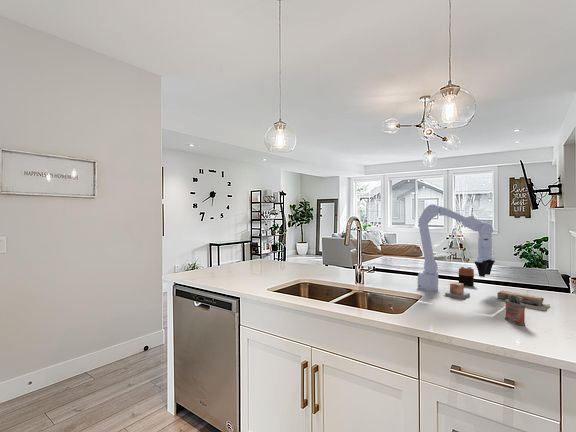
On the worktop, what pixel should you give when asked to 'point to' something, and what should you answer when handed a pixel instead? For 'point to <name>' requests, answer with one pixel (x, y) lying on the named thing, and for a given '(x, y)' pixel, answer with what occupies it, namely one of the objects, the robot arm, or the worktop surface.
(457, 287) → the terracotta cube
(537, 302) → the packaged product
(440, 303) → the worktop surface
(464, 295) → the slate slab
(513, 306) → the red snack pouch
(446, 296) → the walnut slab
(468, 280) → the battery
